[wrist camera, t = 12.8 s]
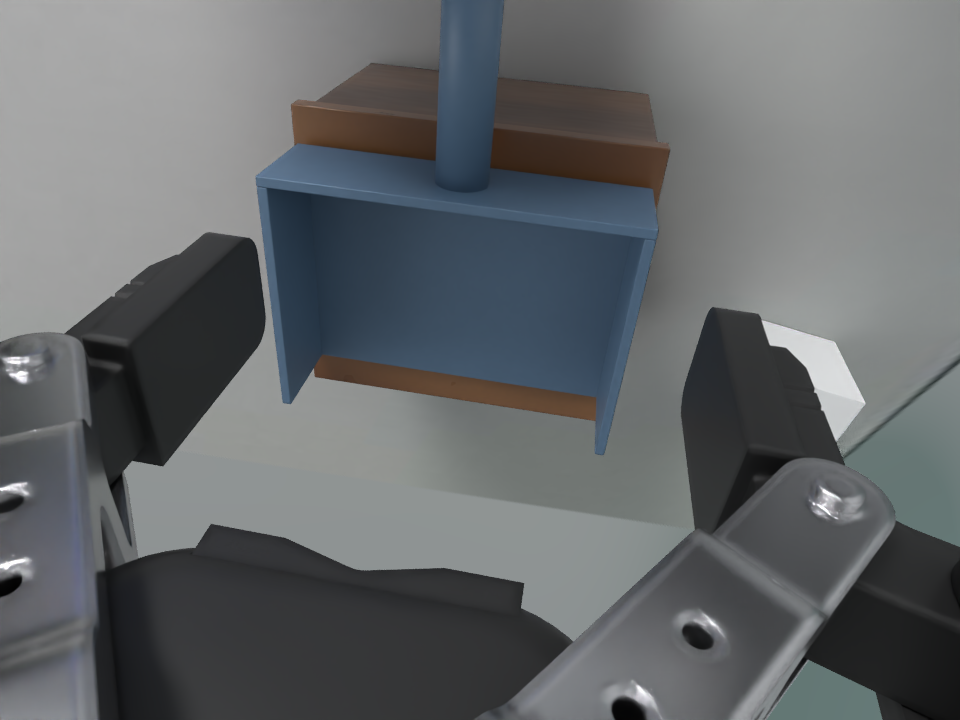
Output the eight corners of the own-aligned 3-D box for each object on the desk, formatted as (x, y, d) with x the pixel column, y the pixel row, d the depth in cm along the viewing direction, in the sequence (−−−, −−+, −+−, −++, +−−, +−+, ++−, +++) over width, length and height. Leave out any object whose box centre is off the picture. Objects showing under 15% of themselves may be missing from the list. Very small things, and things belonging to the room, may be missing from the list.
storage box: (364, 55, 35) (290, 103, 27) (656, 88, 34) (670, 149, 25) (371, 299, 43) (315, 392, 35) (604, 333, 42) (603, 438, 34)
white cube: (737, 312, 40) (755, 369, 35) (834, 341, 40) (866, 402, 35) (694, 389, 43) (705, 451, 38) (783, 416, 43) (806, 481, 38)
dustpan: (604, 393, 32) (604, 455, 29) (317, 349, 34) (282, 403, 30) (724, -131, 21) (748, -137, 17) (276, -170, 22) (211, -183, 18)
